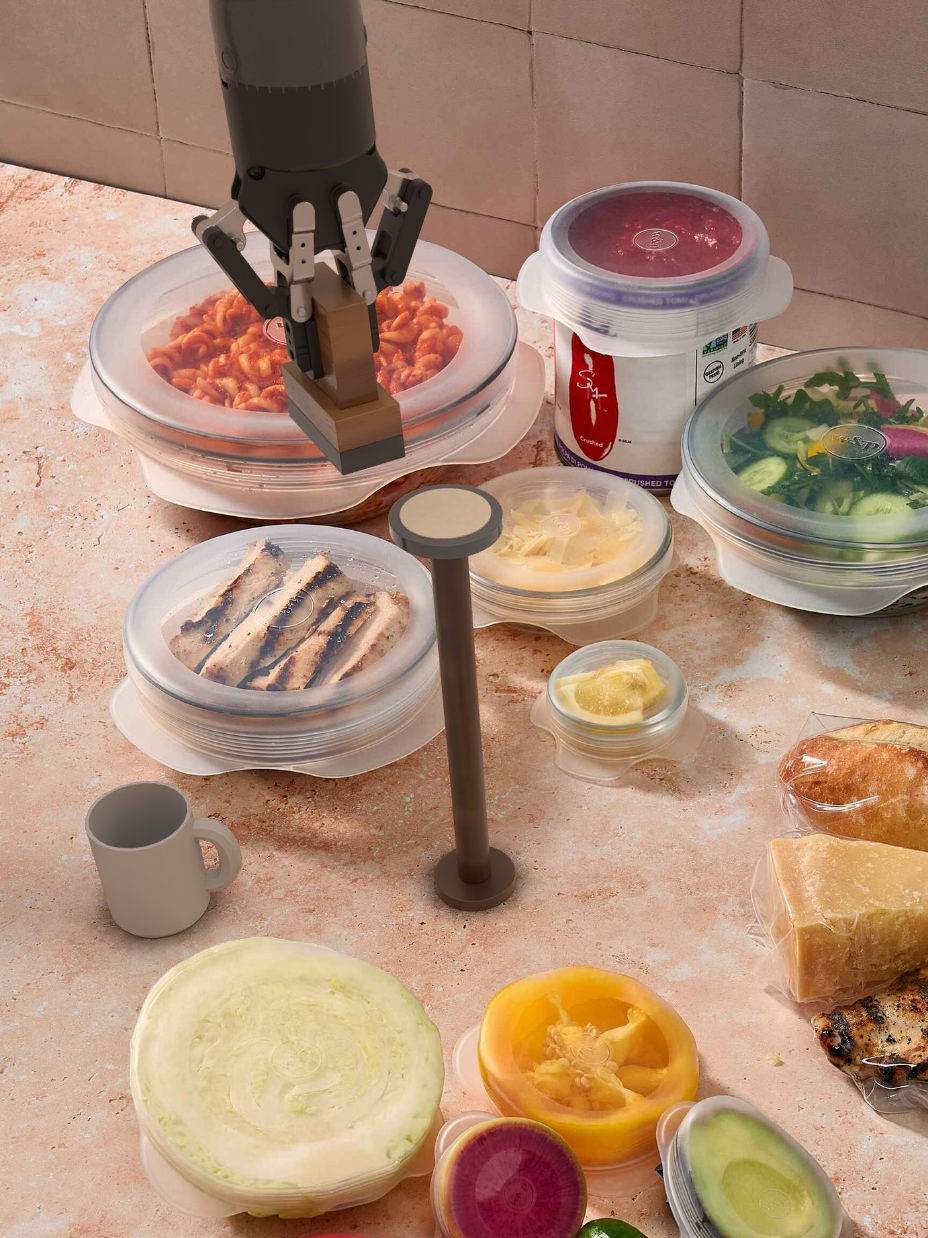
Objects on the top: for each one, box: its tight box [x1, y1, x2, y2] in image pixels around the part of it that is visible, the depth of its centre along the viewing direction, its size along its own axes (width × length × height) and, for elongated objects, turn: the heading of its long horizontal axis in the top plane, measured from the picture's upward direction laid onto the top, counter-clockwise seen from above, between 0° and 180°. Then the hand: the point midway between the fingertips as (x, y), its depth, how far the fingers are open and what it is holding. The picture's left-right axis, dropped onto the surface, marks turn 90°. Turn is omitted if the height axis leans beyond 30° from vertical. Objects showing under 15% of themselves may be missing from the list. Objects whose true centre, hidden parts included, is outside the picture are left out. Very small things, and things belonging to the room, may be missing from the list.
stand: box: [429, 556, 517, 912], centre depth 113 cm, size 6×6×31 cm
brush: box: [280, 261, 406, 476], centre depth 96 cm, size 8×4×10 cm, turn 31°
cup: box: [84, 780, 243, 939], centre depth 119 cm, size 7×10×9 cm
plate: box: [387, 483, 504, 560], centre depth 102 cm, size 7×7×1 cm
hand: (336, 365), depth 96 cm, fingers closed on brush, 2 cm apart
